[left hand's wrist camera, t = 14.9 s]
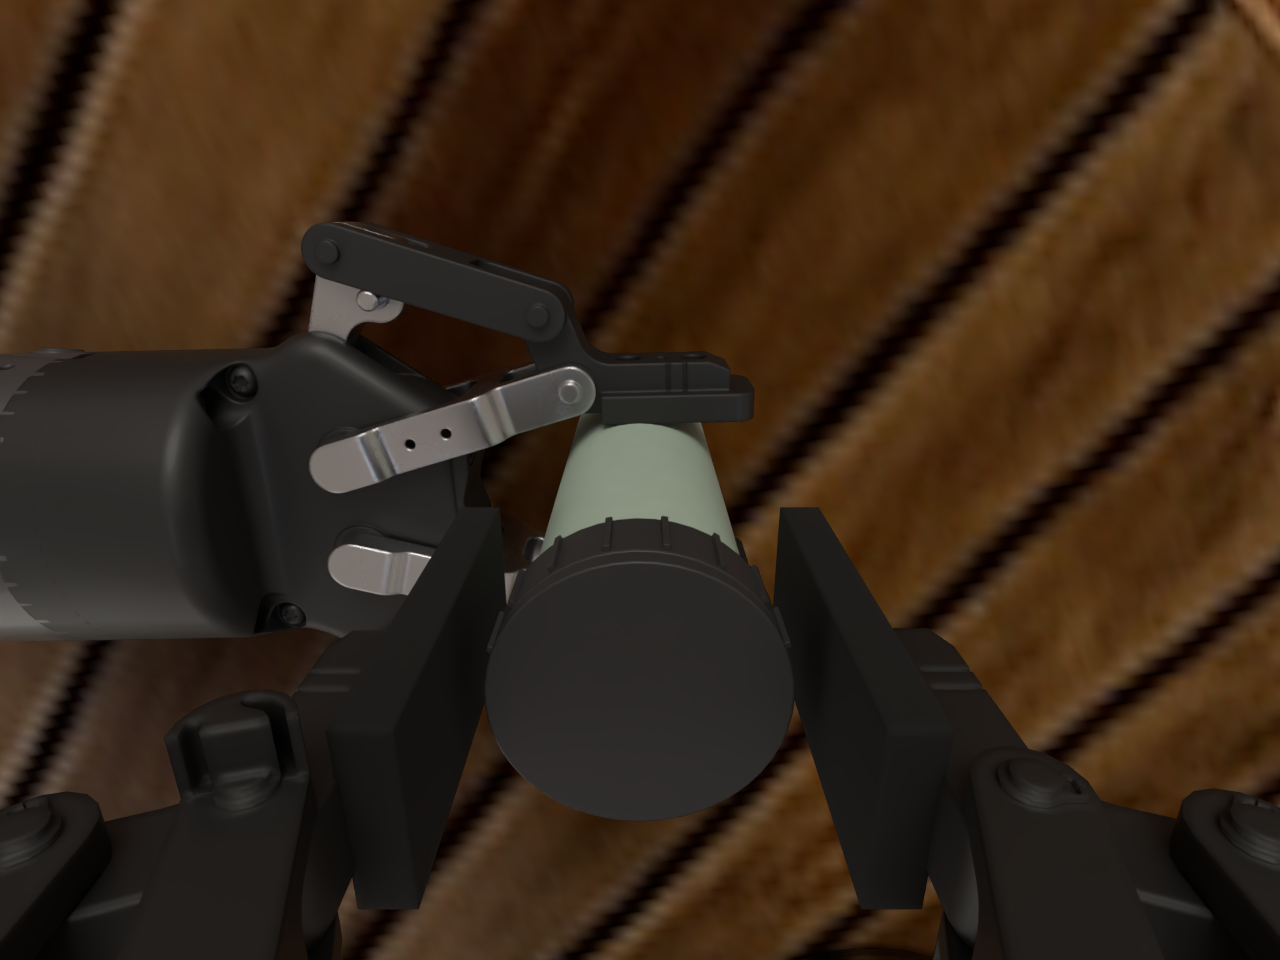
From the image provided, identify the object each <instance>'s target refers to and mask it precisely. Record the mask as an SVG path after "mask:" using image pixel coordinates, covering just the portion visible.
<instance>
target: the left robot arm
mask: <svg viewBox="0 0 1280 960" xmlns="http://www.w3.org/2000/svg"><path fill="white" fill-rule="evenodd" d="M506 606H507V601H506V587H505V573H504V559H503V546H502V532H501V518H500V508H461V509H460V511H459V512H458V514H457V515H456V517H455V519H454V520H453V522H452V524H451V525H450V527H449V529H448V530H447V532H446V533H445V535H444V537H443V538H442V540H441V542H440V543H439V545H438V547H437V548H436V550H435V552H434V553H433V555H432V556H431V558H430V560H429V561H428V563H427V565H426V566H425V568H424V570H423V571H422V573H421V574H420V576H419V578H418V579H417V581H416V583H415V584H414V586H413V588H412V589H411V591H410V593H409V594H408V596H407V597H406V599H405V601H404V602H403V604H402V606H401V607H400V609H399V611H398V612H397V614H396V615H395V617H394V619H393V620H392V622H391V624H390V625H389V627H388V629H387V630H386V631H351V632H350V633H348V634H347V635H345V636H344V637H343V638H341V639H340V640H338V641H337V642H335V643H334V644H333V645H331V646H330V647H328V648H327V649H326V650H325V652H324V653H323V654H322V656H321V657H320V658H319V660H318V661H317V663H316V664H315V665H314V667H313V668H312V670H311V674H308V675H307V676H306V678H305V679H304V681H303V682H302V683H301V685H300V686H299V688H298V692H295V693H294V694H293V696H292V697H291V698H290V697H289V696H288V695H287V694H285V693H280V692H276V691H272V690H253V691H243V692H239V693H235V694H231V695H227V696H223V697H220V698H218V699H215V700H213V701H211V702H209V703H207V704H204V705H202V706H200V707H198V708H196V709H195V710H193V711H192V712H190V713H189V714H188V715H186V716H185V717H183V718H182V719H181V720H179V721H178V722H176V724H175V725H174V726H173V728H172V729H171V730H170V731H169V733H168V734H167V735H166V737H165V738H164V739H165V743H166V746H167V750H168V753H169V757H170V761H171V764H172V768H173V771H174V775H175V779H176V782H177V786H178V789H179V793H180V797H181V800H180V803H179V804H176V805H173V806H170V807H166V808H163V809H159V810H154V811H150V812H146V813H141V814H137V815H133V816H128V817H124V818H119V819H115V820H111V821H106V822H104V819H103V816H102V813H101V810H100V807H99V804H98V803H97V802H96V801H95V800H94V799H92V798H91V797H90V796H89V795H87V794H82V793H74V792H61V793H54V794H48V795H41V796H38V797H35V798H32V799H29V800H27V801H24V802H20V803H18V804H15V805H12V806H10V807H8V808H6V809H4V810H3V811H1V812H0V960H340V955H341V946H342V935H341V927H340V921H339V916H338V911H337V910H338V908H339V906H340V904H341V901H342V899H343V897H344V894H345V892H346V890H347V887H348V885H349V883H350V881H351V878H352V879H353V884H354V889H355V895H356V900H357V906H358V909H419V907H420V904H421V900H422V897H423V894H424V891H425V888H426V885H427V882H428V879H429V875H430V872H431V869H432V866H433V863H434V860H435V857H436V853H437V850H438V847H439V844H440V841H441V838H442V835H443V831H444V828H445V825H446V822H447V819H448V816H449V813H450V809H451V806H452V803H453V800H454V797H455V794H456V791H457V787H458V784H459V781H460V778H461V775H462V772H463V769H464V765H465V762H466V759H467V756H468V753H469V750H470V747H471V744H472V740H473V737H474V734H475V731H476V728H477V725H478V722H479V718H480V715H481V712H482V709H483V706H484V703H485V698H484V682H485V674H486V667H487V664H488V660H489V657H490V653H488V652H486V650H487V646H488V643H489V640H490V637H491V635H492V632H493V629H494V626H495V623H496V620H497V618H498V615H499V612H500V611H502V612H505V609H506ZM774 607H778V608H779V611H780V614H781V617H782V619H783V622H784V625H785V628H786V631H787V634H788V636H789V639H790V642H791V646H792V647H791V648H787V651H788V654H789V657H790V660H791V663H792V668H793V674H794V679H795V699H794V700H795V703H796V706H797V709H798V712H799V715H800V718H801V722H802V725H803V728H804V731H805V734H806V737H807V740H808V743H809V747H810V750H811V753H812V756H813V759H814V762H815V765H816V769H817V772H818V775H819V778H820V781H821V784H822V787H823V791H824V794H825V797H826V800H827V803H828V806H829V809H830V813H831V816H832V819H833V822H834V825H835V828H836V831H837V835H838V838H839V841H840V844H841V847H842V850H843V853H844V857H845V860H846V863H847V866H848V869H849V872H850V875H851V878H852V882H853V885H854V888H855V891H856V894H857V897H858V900H859V904H860V907H861V909H922V906H923V900H924V895H925V889H926V884H927V879H928V875H929V877H930V879H931V881H932V884H933V886H934V888H935V891H936V893H937V895H938V897H939V900H940V902H941V904H942V907H943V911H942V916H941V921H940V926H939V931H938V936H937V941H936V946H935V952H934V957H933V958H932V957H929V956H926V955H922V954H917V953H912V952H908V951H900V950H892V949H851V950H841V951H835V952H829V953H824V954H819V955H815V956H811V957H807V958H804V959H801V960H1280V808H1279V807H1277V806H1275V805H1273V804H1271V803H1269V802H1266V801H1264V800H1261V799H1259V798H1255V797H1253V796H1249V795H1246V794H1243V793H1241V792H1234V791H1227V790H1221V789H1206V790H1199V791H1193V792H1192V793H1191V794H1190V795H1189V796H1187V797H1186V798H1185V799H1184V800H1183V801H1182V804H1181V807H1180V810H1179V813H1178V816H1177V819H1174V818H1170V817H1166V816H1161V815H1157V814H1152V813H1148V812H1144V811H1139V810H1135V809H1130V808H1126V807H1122V806H1118V805H1114V804H1111V803H1107V802H1104V801H1101V800H1100V799H1099V797H1098V796H1097V794H1096V793H1095V791H1094V790H1093V788H1092V787H1091V785H1090V784H1089V782H1088V781H1087V780H1086V779H1084V778H1083V777H1082V776H1081V775H1080V774H1078V773H1077V772H1076V771H1075V770H1073V769H1072V768H1071V767H1070V766H1068V765H1066V764H1065V763H1063V762H1061V761H1059V760H1057V759H1055V758H1053V757H1051V756H1049V755H1047V754H1044V753H1041V752H1037V751H1034V750H1030V749H1028V748H1027V746H1026V745H1025V744H1024V742H1023V741H1022V739H1021V738H1020V737H1019V735H1018V734H1017V733H1016V731H1015V730H1014V728H1013V727H1012V726H1011V724H1010V723H1009V722H1008V720H1007V719H1006V717H1005V716H1004V715H1003V713H1002V712H1001V711H1000V709H999V708H998V706H997V705H996V704H995V702H994V701H993V700H992V698H991V697H990V695H989V694H988V693H987V691H986V690H983V689H982V684H981V683H980V682H979V680H978V679H977V678H976V676H975V675H974V673H973V672H970V671H969V666H968V665H967V664H966V662H965V661H964V660H963V658H962V657H961V655H960V654H959V653H958V651H957V650H956V649H955V647H954V646H953V645H951V644H950V643H948V642H947V641H945V640H944V639H942V638H941V637H940V636H938V635H937V634H935V633H934V632H932V631H931V630H930V629H928V628H892V627H891V625H890V624H889V622H888V620H887V619H886V617H885V615H884V614H883V612H882V611H881V609H880V607H879V606H878V604H877V602H876V601H875V599H874V597H873V596H872V594H871V593H870V591H869V589H868V588H867V586H866V584H865V583H864V581H863V579H862V578H861V576H860V574H859V573H858V571H857V570H856V568H855V566H854V565H853V563H852V561H851V560H850V558H849V556H848V555H847V553H846V552H845V550H844V548H843V547H842V545H841V543H840V542H839V540H838V538H837V537H836V535H835V533H834V532H833V530H832V529H831V527H830V525H829V524H828V522H827V520H826V519H825V517H824V515H823V514H822V512H821V511H820V509H819V508H780V518H779V532H778V546H777V560H776V573H775V587H774V601H773V608H774Z"/></svg>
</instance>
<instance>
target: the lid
mask: <svg viewBox="0 0 1280 960" xmlns="http://www.w3.org/2000/svg"><path fill="white" fill-rule="evenodd" d="M791 647H792V646H791V642H790V639H789V636H788V634H787V631H786V628H785V625H784V622H783V619H782V617H781V614H780V611H779V608H778V607H774V608H773V607H772V604H771V601H770V598H769V595H768V593H767V591H766V590H765V587H764V584H763V581H762V578H761V575H760V572H759V569H758V568H757V567H756V565H753V566H752V567H750V566H749V565H748V564H747V563H746V562H745V560H744V559H743V558H742V557H741V556H740V555H739V554H737V553H736V552H735V551H734V550H732V549H731V548H730V547H728V546H727V545H726V544H724V543H723V542H721V539H720V536H719V535H718V534H716V533H713V534H712V536H711V535H709V534H707V533H704V532H702V531H700V530H697V529H695V528H693V527H690V526H686V525H683V524H679V523H676V522H671V521H668V517H667V516H661V520H658V519H643V518H633V519H621V520H614V521H613V518H612V517H607V518H605V522H604V523H599V524H596V525H593V526H590V527H587V528H584V529H581V530H579V531H577V532H575V533H573V534H571V535H568V536H566V537H564V538H562V536H561V535H559V536H557V537H556V538H555V540H554V544H553V545H552V546H551V547H549V548H548V549H547V550H545V551H544V552H543V553H542V554H541V555H540V556H539V557H537V558H536V559H535V560H534V561H533V562H532V564H531V565H530V566H529V567H528V568H527V569H526V571H525V570H523V569H520V570H519V572H518V574H517V577H516V580H515V583H514V585H513V588H512V591H511V594H510V597H509V600H508V603H507V606H506V609H505V612H502V611H500V612H499V615H498V618H497V620H496V623H495V626H494V629H493V632H492V635H491V637H490V640H489V643H488V646H487V650H486V652H488V653H490V657H489V660H488V664H487V667H486V674H485V682H484V698H485V707H486V712H487V717H488V721H489V724H490V727H491V730H492V732H493V735H494V738H495V739H496V741H497V743H498V745H499V747H500V749H501V751H502V752H503V754H504V755H505V756H506V758H507V759H508V761H509V762H510V763H511V765H512V766H513V767H514V768H515V769H516V770H517V771H518V772H519V773H520V774H521V775H522V777H523V778H524V779H526V780H527V781H528V782H529V783H530V784H532V785H533V786H534V787H535V788H537V789H538V790H539V791H541V792H542V793H544V794H546V795H547V796H549V797H550V798H552V799H553V800H555V801H558V802H560V803H562V804H564V805H566V806H568V807H570V808H573V809H576V810H578V811H581V812H584V813H587V814H591V815H595V816H599V817H603V818H608V819H616V820H623V821H653V820H664V819H670V818H676V817H681V816H685V815H688V814H692V813H695V812H699V811H701V810H703V809H706V808H708V807H711V806H713V805H716V804H718V803H719V802H721V801H723V800H725V799H727V798H729V797H731V796H732V795H734V794H735V793H736V792H738V791H739V790H741V789H742V788H744V787H745V786H746V785H748V784H749V783H750V782H751V781H752V780H753V779H754V778H755V777H756V776H758V775H759V774H760V773H761V771H762V770H763V769H764V768H765V767H766V766H767V764H768V763H769V762H770V761H771V760H772V758H773V756H774V755H775V753H776V752H777V750H778V749H779V747H780V745H781V743H782V741H783V739H784V737H785V735H786V733H787V730H788V727H789V724H790V720H791V717H792V714H793V707H794V699H795V679H794V674H793V668H792V663H791V660H790V657H789V654H788V651H787V648H791Z"/></svg>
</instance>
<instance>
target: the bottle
mask: <svg viewBox="0 0 1280 960" xmlns="http://www.w3.org/2000/svg"><path fill="white" fill-rule="evenodd" d="M661 516H667V517H668V521H671V522H676V523H679V524H683V525H686V526H690V527H693V528H695V529H697V530H700V531H702V532H704V533H707V534H709V535H711V536H712V534H713V533H716V534H718V535H719V536H720V539H721V542H723V543H724V544H726V545H727V546H728V547H730V548H731V549H732V550H734V551H735V552H736V553H737V554H739V551H738V548H737V544H736V541H735V537H734V534H733V531H732V527H731V524H730V520H729V517H728V514H727V510H726V507H725V503H724V500H723V497H722V493H721V490H720V486H719V483H718V480H717V476H716V473H715V469H714V466H713V463H712V459H711V456H710V452H709V449H708V446H707V442H706V439H705V435H704V432H703V429H702V425H701V423H659V424H641V423H639V424H614V425H602V413H590V414H582V415H580V419H579V422H578V426H577V429H576V432H575V436H574V439H573V442H572V446H571V449H570V453H569V456H568V459H567V463H566V466H565V470H564V473H563V476H562V480H561V483H560V487H559V490H558V493H557V497H556V500H555V504H554V507H553V510H552V514H551V517H550V521H549V524H548V527H547V531H546V534H545V538H544V541H543V544H542V548H541V551H540V555H541V554H542V553H543V552H544V551H545V550H547V549H548V548H549V547H551V546H552V545H553V544H554V540H555V538H556V537H557V536H559V535H561V536H562V538H564V537H566V536H568V535H571V534H573V533H575V532H577V531H579V530H581V529H584V528H587V527H590V526H593V525H596V524H599V523H604V522H605V518H607V517H612V518H613V521H614V520H621V519H633V518H643V519H658V520H661ZM540 555H539V556H540ZM739 555H740V554H739Z"/></svg>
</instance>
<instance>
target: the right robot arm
mask: <svg viewBox="0 0 1280 960" xmlns="http://www.w3.org/2000/svg"><path fill="white" fill-rule="evenodd" d="M301 251H302V256H303V259H304V261H305V263H306V265H307V266H308V268H309V269H310V270H311V271H312V272H313V273H315V274H316V281H315V288H314V295H313V302H312V309H311V316H310V323H309V329H308V331H307V332H303V333H299V334H297V335H294V336H292V337H290V338H289V339H287V340H286V341H284V342H283V343H281V344H280V345H278V346H277V347H271V348H251V349H207V350H162V351H118V352H85V351H84V350H78V349H59V348H47V349H36V351H32V352H29V353H22V354H0V642H28V641H80V640H127V639H183V638H240V637H252V636H259V635H264V634H269V633H273V632H278V631H283V630H288V629H294V628H312V629H317V630H321V631H324V632H327V633H330V634H332V635H335V636H337V637H339V638H343V637H344V636H345V635H347V634H348V633H350V632H351V631H386V630H387V629H388V627H389V625H390V624H391V622H392V620H393V619H394V617H395V615H396V614H397V612H398V611H399V609H400V607H401V606H402V604H403V602H404V601H405V599H406V597H407V596H408V594H409V593H410V591H411V589H412V588H413V586H414V584H415V583H416V581H417V579H418V578H419V576H420V574H421V573H422V571H423V570H424V568H425V566H426V565H427V563H428V561H429V560H430V558H431V556H432V555H433V553H434V552H435V550H436V548H437V547H438V545H439V543H440V542H441V540H442V538H443V537H444V535H445V533H446V532H447V530H448V529H449V527H450V525H451V524H452V522H453V520H454V519H455V517H456V515H457V514H458V512H459V511H460V509H461V508H491V505H490V500H489V497H488V495H487V492H486V490H485V487H484V485H483V482H482V480H481V477H480V472H481V466H482V460H483V455H484V449H485V448H488V447H491V446H494V445H496V444H499V443H501V442H503V441H504V440H506V439H507V438H509V437H511V436H513V435H516V434H519V433H522V432H525V431H529V430H532V429H536V428H539V427H542V426H546V425H549V424H552V423H556V422H559V421H563V420H566V419H569V418H573V417H576V416H579V415H582V414H590V413H602V425H614V424H639V423H641V424H659V423H704V422H740V421H747V420H750V419H752V418H753V417H754V388H753V386H752V385H751V383H750V382H749V380H748V379H747V378H746V377H744V376H739V375H730V368H729V367H728V365H727V363H726V361H725V360H724V359H723V358H720V357H718V356H715V355H713V354H710V353H707V352H668V353H664V352H662V353H619V354H612V353H605V352H603V351H600V350H598V349H596V348H595V347H594V346H592V344H591V343H590V342H589V341H588V340H587V338H586V336H585V335H584V332H583V330H582V327H581V325H580V323H579V320H578V318H577V315H576V313H575V311H574V300H573V296H572V294H571V292H570V290H569V289H568V288H567V287H566V286H565V285H564V284H562V283H561V282H559V281H556V280H553V279H549V278H546V277H543V276H540V275H537V274H533V273H530V272H527V271H524V270H521V269H517V268H514V267H511V266H508V265H505V264H501V263H498V262H495V261H492V260H488V259H485V258H482V257H479V256H476V255H472V254H469V253H466V252H463V251H460V250H456V249H453V248H450V247H447V246H444V245H440V244H437V243H434V242H431V241H427V240H424V239H421V238H418V237H415V236H411V235H408V234H405V233H402V232H399V231H395V230H392V229H389V228H386V227H383V226H379V225H376V224H373V223H369V222H333V223H320V224H316V225H314V226H312V227H311V228H310V229H308V230H307V232H306V233H305V235H304V237H303V239H302V244H301ZM412 306H416V307H419V308H423V309H426V310H429V311H433V312H436V313H439V314H443V315H446V316H449V317H453V318H456V319H459V320H463V321H466V322H469V323H473V324H476V325H479V326H482V327H486V328H489V329H492V330H496V331H499V332H502V333H506V334H509V335H512V336H516V337H519V338H522V339H524V341H525V343H526V346H527V348H528V350H529V352H530V355H531V357H532V359H533V362H530V363H526V364H523V365H520V366H516V367H512V368H502V369H498V370H495V371H491V372H488V373H485V374H481V375H478V376H475V377H472V378H468V379H465V380H462V381H459V382H455V383H452V384H449V385H446V386H440V385H439V384H437V383H436V382H434V381H432V380H431V379H429V378H428V377H426V376H425V375H423V374H421V373H420V372H418V371H417V370H415V369H414V368H412V367H410V366H409V365H407V364H406V363H404V362H403V361H401V360H400V359H398V358H396V357H395V356H393V355H392V354H390V353H389V352H387V351H385V350H384V349H382V348H381V347H379V346H378V345H376V344H374V343H373V342H371V341H370V340H368V339H367V338H365V337H364V336H362V335H360V332H361V329H362V327H363V326H364V325H365V323H366V322H376V323H385V322H389V321H392V320H394V319H396V318H399V317H401V316H403V315H405V314H406V313H407V312H409V310H410V309H411V308H412ZM500 518H501V532H502V546H503V559H504V573H505V587H506V601H507V603H508V600H509V597H510V594H511V591H512V588H513V585H514V583H515V580H516V577H517V574H518V572H519V570H520V569H523V570H525V571H526V569H527V568H528V567H529V566H530V565H531V564H532V562H533V561H534V560H535V559H536V558H537V557H539V555H540V551H541V548H542V544H543V541H544V538H545V534H546V532H543V531H539V530H537V529H536V528H534V526H533V525H532V524H531V523H529V522H528V521H525V520H523V519H519V518H515V517H510V516H506V515H502V514H500ZM735 541H736V544H737V548H738V551H739V554H740V556H741V557H742V558H743V559H744V560H745V562H746V563H747V564H748V561H747V558H746V554H745V551H744V548H743V545H742V542H741V541H740V540H739V539H737V538H735ZM484 704H485V703H484Z"/></svg>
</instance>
